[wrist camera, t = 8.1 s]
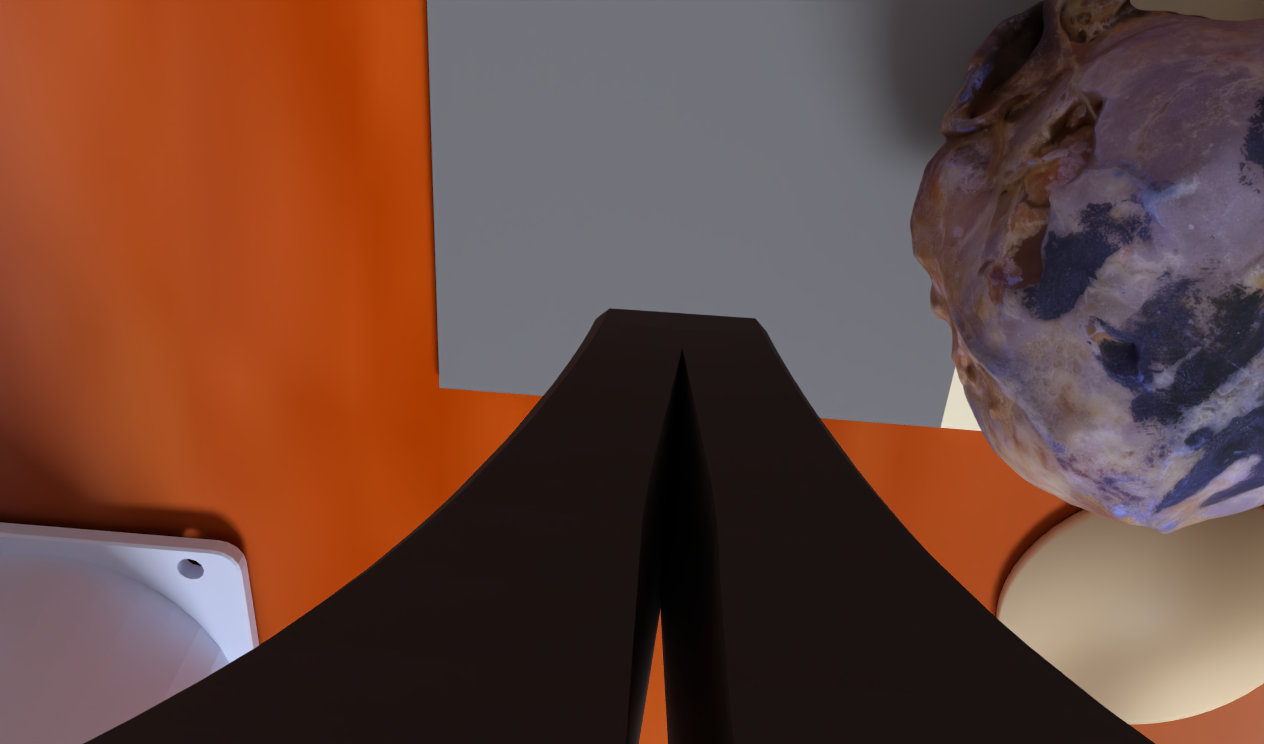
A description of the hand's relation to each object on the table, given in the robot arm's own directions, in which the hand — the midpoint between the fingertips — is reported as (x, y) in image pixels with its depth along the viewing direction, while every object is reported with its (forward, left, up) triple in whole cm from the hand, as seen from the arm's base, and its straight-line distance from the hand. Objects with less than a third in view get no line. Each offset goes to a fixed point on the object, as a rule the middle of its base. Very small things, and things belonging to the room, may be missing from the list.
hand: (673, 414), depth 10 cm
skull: (+9, +1, -9) cm, 13 cm away
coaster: (+10, -10, -9) cm, 17 cm away
